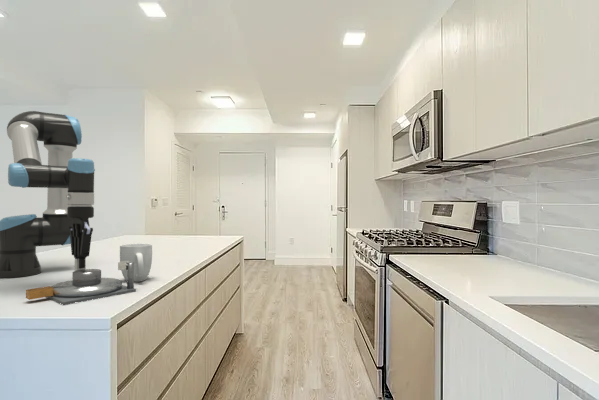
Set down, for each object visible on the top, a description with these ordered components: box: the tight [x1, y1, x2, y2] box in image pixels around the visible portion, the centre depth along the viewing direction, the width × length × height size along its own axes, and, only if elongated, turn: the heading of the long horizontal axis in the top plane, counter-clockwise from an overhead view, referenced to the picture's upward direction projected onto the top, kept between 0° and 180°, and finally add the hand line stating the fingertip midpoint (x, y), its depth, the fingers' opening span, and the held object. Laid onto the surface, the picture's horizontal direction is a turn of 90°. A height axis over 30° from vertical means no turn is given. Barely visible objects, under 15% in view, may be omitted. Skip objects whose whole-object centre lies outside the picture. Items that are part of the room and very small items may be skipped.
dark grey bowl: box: [71, 268, 102, 287], centre depth 120 cm, size 8×8×4 cm
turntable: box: [25, 277, 123, 300], centre depth 117 cm, size 20×26×2 cm
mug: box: [119, 242, 153, 283], centre depth 136 cm, size 15×11×13 cm
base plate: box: [45, 284, 137, 306], centre depth 119 cm, size 21×21×1 cm
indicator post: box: [117, 261, 135, 289], centre depth 122 cm, size 5×5×9 cm
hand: (80, 277), depth 123 cm, fingers closed
